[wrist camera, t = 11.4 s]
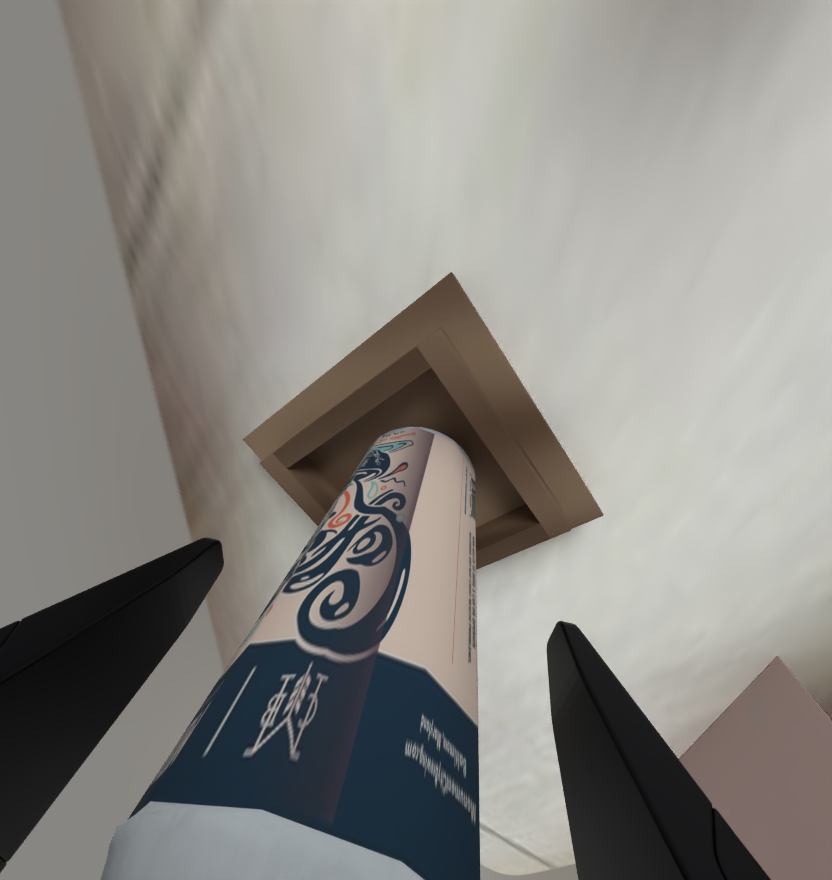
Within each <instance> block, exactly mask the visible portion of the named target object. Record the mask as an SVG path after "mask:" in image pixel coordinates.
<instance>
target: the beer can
mask: <svg viewBox="0 0 832 880" xmlns="http://www.w3.org/2000/svg"><path fill="white" fill-rule="evenodd" d="M475 491H476V475H475V470H474V467H473V465H472V463H471V460H470V458H469V457H468V455H467V454H466V453H465V451H464V450H463V449H462V447H460V446H459V445H458V444H457V443H456V442H455V441H454V440H452V439H451V438H449V437H448V436H446V435H444V434H442V433H440V432H438V431H435V430H432V429H427V428H423V427H405V428H400V429H395V430H392V431H389V432H387V433H385V434H384V435H382V436H380V437H378V438H377V439H376V440H375V441H374V442H373V443H372V444H371V445H370V446H369V448H368V450H367V451H366V453H365V454H364V456H363V458H362V460H361V462H360V464H359V465H358V467H357V468H356V470H355V471H354V473H353V474H352V476H351V477H350V479H349V480H348V482H347V484H346V485H345V487H344V488H343V490H342V491H341V493H340V494H339V496H338V497H337V499H336V500H335V502H334V503H333V505H332V507H331V508H330V510H329V511H328V513H327V514H326V516H325V517H324V519H323V520H322V522H321V523H320V525H319V527H318V528H317V530H316V531H315V533H314V534H313V536H312V537H311V539H310V540H309V542H308V543H307V545H306V547H305V548H304V550H303V551H302V553H301V554H300V556H299V557H298V559H297V560H296V562H295V563H294V565H293V567H292V568H291V570H290V571H289V573H288V574H287V576H286V577H285V579H284V580H283V582H282V583H281V585H280V586H279V588H278V590H277V591H276V593H275V594H274V596H273V597H272V599H271V600H270V602H269V603H268V605H267V606H266V608H265V610H264V611H263V613H262V614H261V616H260V617H259V619H258V620H257V622H256V623H255V625H254V626H253V628H252V630H251V631H250V633H249V634H248V636H247V637H246V639H245V640H244V642H243V643H242V645H241V646H240V648H239V649H238V651H237V653H236V654H235V656H234V657H233V659H232V660H231V662H230V663H229V665H228V666H227V668H226V669H225V671H224V673H223V674H222V676H221V677H220V679H219V680H218V682H217V683H216V685H215V686H214V688H213V689H212V691H211V693H210V694H209V696H208V697H207V699H206V700H205V702H204V703H203V705H202V707H201V708H200V710H199V711H198V713H197V714H196V716H195V717H194V719H193V720H192V722H191V723H190V725H189V726H188V728H187V729H186V731H185V732H184V734H183V736H182V737H181V739H180V740H179V742H178V743H177V745H176V746H175V748H174V749H173V751H172V752H171V754H170V756H169V757H168V759H167V760H166V762H165V763H164V765H163V766H162V768H161V769H160V771H159V773H158V774H157V776H156V777H155V779H154V780H153V782H152V784H151V785H150V786H149V788H148V789H147V791H146V792H145V794H144V795H143V797H142V799H141V800H140V802H139V803H138V805H137V806H136V808H135V809H134V811H133V812H132V814H131V816H130V817H129V819H128V820H127V821H126V822H124V823H123V824H121V825H120V826H119V827H117V829H116V831H115V834H114V836H113V838H112V840H111V843H110V846H109V851H108V856H107V861H106V864H105V867H104V870H103V874H102V877H101V880H480V832H479V755H478V679H477V602H476V526H475Z"/></svg>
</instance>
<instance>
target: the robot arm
mask: <svg viewBox="0 0 832 880" xmlns="http://www.w3.org/2000/svg"><path fill="white" fill-rule="evenodd" d="M223 565H224V559H223V551H222V544H221V542H220V541H219V540H216V539H211V538H202V539H199V540H197V541H195V542H193V543H191V544H188V545H186V546H184V547H182V548H179V549H177V550H175V551H173V552H170V553H168V554H166V555H164V556H161V557H159V558H157V559H155V560H153V561H150V562H148V563H146V564H144V565H142V566H139V567H137V568H135V569H132V570H130V571H128V572H126V573H124V574H122V575H119V576H117V577H115V578H113V579H110V580H108V581H106V582H103V583H101V584H99V585H97V586H94V587H92V588H90V589H88V590H86V591H83V592H81V593H79V594H77V595H74V596H72V597H70V598H68V599H65V600H63V601H61V602H59V603H56V604H54V605H52V606H50V607H48V608H45V609H43V610H41V611H39V612H37V613H35V614H32V615H30V616H27V617H25V618H23V619H22V620H21V621H16V622H14V623H12V624H9V625H7V626H5V627H3V628H1V629H0V873H1V871H2V870H3V869H4V867H5V866H6V862H8V861H9V860H10V859H11V858H12V856H13V855H14V854H15V852H16V851H17V850H18V848H19V847H20V846H21V844H22V843H23V842H24V840H25V839H26V838H27V836H28V835H29V834H30V833H31V831H32V830H33V828H34V827H35V826H36V825H37V823H38V822H39V821H40V819H41V818H42V817H43V815H44V814H45V813H46V811H47V810H48V809H49V807H50V806H51V805H52V803H53V802H54V801H55V799H56V798H57V797H58V796H59V794H60V793H61V792H62V790H63V789H64V788H65V786H66V785H67V784H68V782H69V781H70V780H71V778H72V777H73V776H74V775H75V773H76V772H77V771H78V769H79V768H80V767H81V765H82V764H83V763H84V761H85V760H86V759H87V757H88V756H89V755H90V753H91V752H92V751H93V749H94V748H95V747H96V746H97V744H98V743H99V741H100V740H101V739H102V738H103V736H104V735H105V734H106V732H107V731H108V730H109V728H110V727H111V726H112V724H113V723H114V722H115V721H116V719H117V718H118V716H119V715H120V714H121V712H122V711H123V710H124V709H125V707H126V706H127V705H128V703H129V702H130V701H131V699H132V698H133V697H134V696H135V694H136V693H137V691H138V690H139V689H140V688H141V686H142V685H143V684H144V682H145V681H146V680H147V678H148V677H149V676H150V674H151V673H152V672H153V670H154V669H155V668H156V667H157V665H158V664H159V662H160V661H161V660H162V659H163V657H164V656H165V655H166V653H167V652H168V651H169V649H170V648H171V647H172V645H173V644H174V643H175V641H176V640H177V639H178V638H179V636H180V635H181V633H182V632H183V631H184V629H185V628H186V626H187V625H188V624H189V622H190V621H191V619H192V618H193V616H194V614H195V613H196V611H197V610H198V608H199V606H200V605H201V603H202V602H203V600H204V598H205V597H206V595H207V594H208V592H209V590H210V589H211V587H212V586H213V584H214V582H215V581H216V579H217V578H218V576H219V575H220V573H221V571H222V569H223ZM547 662H548V676H549V690H550V704H551V716H552V725H553V731H554V738H555V744H556V750H557V755H558V761H559V767H560V773H561V779H562V785H563V791H564V797H565V803H566V809H567V815H568V821H569V826H570V832H571V838H572V844H573V850H574V856H575V862H576V868H577V874H578V879H579V880H771V879H770V878H769V876H768V875H767V874H766V872H765V871H764V870H763V869H762V867H761V866H760V865H759V863H758V862H757V861H756V860H755V858H754V857H753V856H752V854H751V853H750V852H749V851H748V849H747V848H746V847H745V846H744V844H743V843H742V842H741V840H740V839H739V838H738V837H737V835H736V834H735V833H734V831H733V830H732V829H731V827H730V826H729V825H728V823H727V822H726V821H725V819H724V818H723V817H722V816H721V814H720V813H719V812H718V810H717V809H716V808H712V803H711V801H710V800H709V799H708V797H707V796H706V795H705V793H704V792H703V791H702V789H701V788H700V787H699V786H698V784H697V783H696V782H695V780H694V779H693V778H692V776H691V775H690V774H689V772H688V771H687V770H686V768H685V767H684V766H683V764H682V763H681V762H680V761H679V759H678V758H677V757H676V755H675V754H674V753H673V751H672V750H671V749H670V747H669V746H668V745H667V743H666V742H665V741H664V739H663V738H662V737H661V736H660V734H659V733H658V732H657V730H656V729H655V728H654V726H653V725H652V724H651V722H650V721H649V720H648V718H647V717H646V716H645V714H644V713H643V712H642V711H641V709H640V708H639V707H638V705H637V704H636V703H635V701H634V700H633V699H632V697H631V696H630V695H629V693H628V692H627V691H626V689H625V688H624V687H623V686H622V684H621V683H620V682H619V680H618V679H617V678H616V676H615V675H614V674H613V672H612V671H611V670H610V668H609V667H608V666H607V664H606V663H605V662H604V661H603V659H602V658H601V657H600V655H599V654H598V653H597V651H596V650H595V649H594V647H593V646H592V645H591V643H590V642H589V641H588V639H587V638H586V637H585V636H584V634H583V633H582V632H581V630H580V629H579V628H578V627H577V626H576V625H575V624H572V623H567V622H563V621H559V622H557V624H556V626H555V628H554V630H553V632H552V634H551V636H550V638H549V640H548V643H547Z"/></svg>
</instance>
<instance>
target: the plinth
mask: <svg viewBox="0 0 832 880" xmlns="http://www.w3.org/2000/svg"><path fill="white" fill-rule="evenodd" d="M405 427H423V428H427V429H432V430H435V431H438V432H440V433H442V434H444V435H446V436H448V437H449V438H451V439H452V440H454V441H455V442H456V443H457V444H458V445H459V446H460V447H462V449H463V450H464V451H465V453H466V454H467V455H468V457H469V458H470V460H471V463H472V465H473V467H474V470H475V475H476V491H475V526H476V569H479V568H481V567H484V566H486V565H488V564H491V563H493V562H496V561H498V560H500V559H503V558H505V557H508V556H510V555H512V554H515V553H517V552H520V551H522V550H524V549H527V548H529V547H532V546H534V545H536V544H539V543H541V542H544V541H546V540H548V539H551V538H553V537H556V536H558V535H560V534H563V533H565V532H568V531H570V530H571V529H572V528H575V527H577V526H580V525H582V524H584V523H587V522H589V521H591V520H594V519H596V518H599V517H601V516H603V513H602V512H601V510H600V508H599V506H598V505H597V503H596V501H595V500H594V498H593V496H592V494H591V493H590V491H589V490H588V488H587V486H586V485H585V483H584V482H583V480H582V478H581V477H580V475H579V474H578V472H577V470H576V469H575V467H574V466H573V464H572V462H571V461H570V459H569V458H568V456H567V455H566V453H565V451H564V450H563V448H562V447H561V445H560V443H559V442H558V440H557V439H556V437H555V435H554V434H553V432H552V431H551V429H550V427H549V426H548V424H547V423H546V421H545V419H544V418H543V416H542V415H541V413H540V411H539V410H538V408H537V407H536V405H535V403H534V402H533V400H532V399H531V397H530V395H529V394H528V392H527V391H526V389H525V387H524V386H523V384H522V383H521V381H520V379H519V378H518V376H517V375H516V373H515V371H514V370H513V368H512V367H511V365H510V364H509V362H508V360H507V359H506V357H505V356H504V354H503V352H502V351H501V349H500V348H499V346H498V344H497V343H496V341H495V340H494V338H493V336H492V335H491V333H490V332H489V330H488V328H487V327H486V325H485V324H484V322H483V320H482V319H481V317H480V316H479V314H478V312H477V311H476V309H475V308H474V306H473V304H472V303H471V301H470V300H469V298H468V296H467V295H466V293H465V292H464V290H463V288H462V287H461V285H460V284H459V282H458V280H457V279H456V277H455V276H454V274H453V273H452V272H451V273H450V274H448V275H447V276H446V277H445V278H443V279H442V280H441V281H440V282H438V283H437V284H436V285H435V286H433V287H432V288H431V289H430V290H428V291H427V292H426V293H425V294H423V295H422V296H421V297H420V298H418V299H417V300H416V301H415V302H413V303H412V304H411V305H410V306H408V307H407V308H406V309H405V310H403V311H402V312H401V313H400V314H398V315H397V316H396V317H395V318H393V319H392V320H391V321H390V322H388V323H387V324H386V325H385V326H383V327H382V328H381V329H380V330H378V331H377V332H376V333H375V334H373V335H372V336H371V337H370V338H369V339H367V340H366V341H365V342H364V343H362V344H361V345H360V346H359V347H357V348H356V349H355V350H354V351H352V352H351V353H350V354H349V355H347V356H346V357H345V358H344V359H342V360H341V361H340V362H339V363H337V364H336V365H335V366H334V367H332V368H331V369H330V370H329V371H327V372H326V373H325V374H324V375H322V376H321V377H320V378H319V379H317V380H316V381H315V382H314V383H312V384H311V385H310V386H309V387H307V388H306V389H305V390H304V391H302V392H301V393H300V394H299V395H297V396H296V397H295V398H294V399H292V400H291V401H290V402H289V403H287V404H286V405H285V406H284V407H282V408H281V409H280V410H279V411H277V412H276V413H275V414H274V415H273V416H271V417H270V418H269V419H268V420H266V421H265V422H264V423H263V424H261V425H260V426H259V427H258V428H256V429H255V430H254V431H253V432H251V433H250V434H249V435H248V436H246V437H245V438H244V439H243V440H244V441H245V443H246V444H247V445H248V446H249V447H250V448H251V449H252V450H253V451H254V452H255V453H256V454H257V456H258V457H259V458H260V459H261V460H262V462H260V464H261V465H262V466H263V467H264V468H265V469H266V471H267V472H268V473H269V474H270V475H271V476H272V477H273V478H274V479H275V480H276V481H277V482H278V483H279V485H280V486H281V487H282V488H283V489H284V490H285V491H286V492H287V493H288V494H289V495H290V496H291V497H292V499H293V500H294V501H295V502H296V503H297V504H298V505H299V506H300V507H301V508H302V509H303V510H304V512H305V513H306V514H307V515H308V516H309V517H310V518H311V519H312V520H313V521H314V522H315V523H316V524H317V526H318V527H319V525H320V523H321V522H322V520H323V519H324V517H325V516H326V514H327V513H328V511H329V510H330V508H331V507H332V505H333V503H334V502H335V500H336V499H337V497H338V496H339V494H340V493H341V491H342V490H343V488H344V487H345V485H346V484H347V482H348V480H349V479H350V477H351V476H352V474H353V473H354V471H355V470H356V468H357V467H358V465H359V464H360V462H361V460H362V458H363V456H364V454H365V453H366V451H367V450H368V448H369V446H370V445H371V444H372V443H373V442H374V441H375V440H376V439H377V438H378V437H380V436H382V435H384V434H385V433H387V432H389V431H392V430H395V429H400V428H405Z"/></svg>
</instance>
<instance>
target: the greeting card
mask: <svg viewBox="0 0 832 880" xmlns="http://www.w3.org/2000/svg"><path fill="white" fill-rule="evenodd" d="M679 761H680V762H681V763H682V764H683V766H684V767H685V768H686V770H687V771H688V772H689V774H690V775H691V776H692V778H693V779H694V780H695V782H696V783H697V784H698V786H699V787H700V788H701V789H702V791H703V792H704V793H705V795H706V796H707V797H708V799H709V800H710V801H711V803H712V808H716V809H717V810H718V812H719V813H720V814H721V816H722V817H723V818H724V819H725V821H726V822H727V823H728V825H729V826H730V827H731V829H732V830H733V831H734V833H735V834H736V835H737V837H738V838H739V839H740V840H741V842H742V843H743V844H744V846H745V847H746V848H747V849H748V851H749V852H750V853H751V854H752V856H753V857H754V858H755V860H756V861H757V862H758V863H759V865H760V866H761V867H762V869H763V870H764V871H765V872H766V874H767V875H768V876H769V878H770V879H771V880H832V720H831V719H830V718H829V717H828V716H827V714H826V713H825V712H824V711H823V710H822V708H821V707H820V706H819V705H818V704H817V702H816V701H815V700H814V699H813V698H812V696H811V695H810V694H809V693H808V692H807V690H806V689H805V688H804V687H803V686H802V684H801V683H800V682H799V681H798V680H797V678H796V677H795V676H794V675H793V674H792V672H791V671H790V670H789V669H788V668H787V667H786V665H785V664H784V663H783V662H782V661H781V659H780V658H779V657H778V656H777V657H776V658H775V659H774V660H773V661H772V662H771V663H770V664H769V666H768V667H767V668H766V669H765V670H764V671H763V672H762V673H761V674H760V675H759V676H758V677H757V678H756V679H755V680H754V681H753V682H752V683H751V684H750V685H749V686H748V688H747V689H746V690H745V691H744V692H743V693H742V694H741V695H740V696H739V697H738V698H737V699H736V700H735V701H734V702H733V703H732V704H731V705H730V706H729V707H728V709H727V710H726V711H725V712H724V713H723V714H722V715H721V716H720V717H719V718H718V719H717V720H716V721H715V722H714V723H713V724H712V725H711V726H710V727H709V728H708V729H707V731H706V732H705V733H704V734H703V735H702V736H701V737H700V738H699V739H698V740H697V741H696V742H695V743H694V744H693V745H692V746H691V747H690V748H689V749H688V750H687V751H686V753H685V754H684V755H683V756H682V757H681V758H680V759H679Z"/></svg>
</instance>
